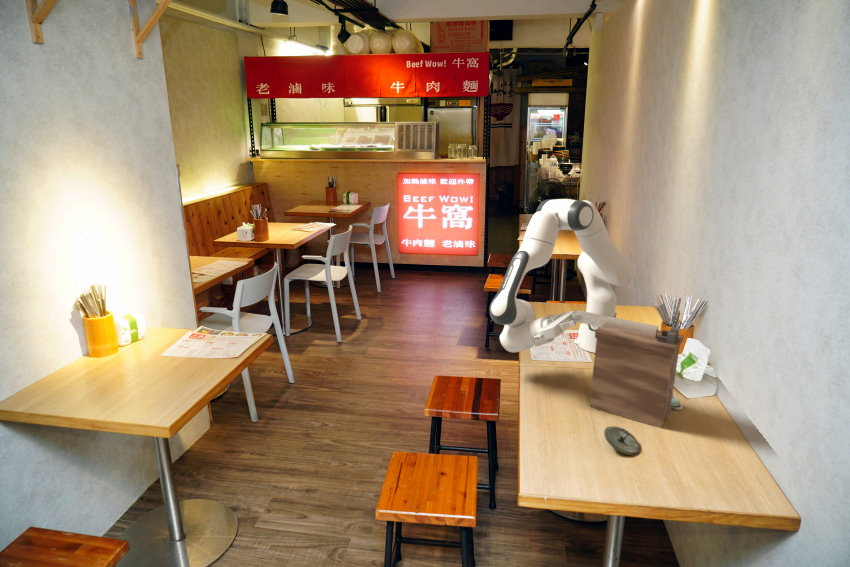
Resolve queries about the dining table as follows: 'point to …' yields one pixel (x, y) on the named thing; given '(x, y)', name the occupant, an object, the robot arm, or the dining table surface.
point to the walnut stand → (635, 374)
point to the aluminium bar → (616, 324)
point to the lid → (622, 440)
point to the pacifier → (675, 403)
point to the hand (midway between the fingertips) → (579, 318)
